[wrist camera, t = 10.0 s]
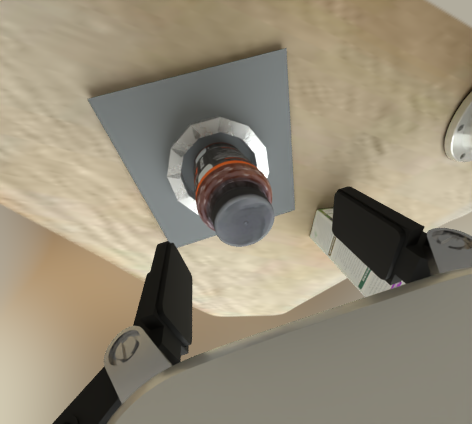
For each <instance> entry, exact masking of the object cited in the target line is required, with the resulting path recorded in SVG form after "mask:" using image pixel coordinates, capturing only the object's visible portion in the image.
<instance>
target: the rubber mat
mask: <svg viewBox="0 0 472 424" xmlns="http://www.w3.org/2000/svg"><path fill="white" fill-rule="evenodd" d="M88 101H89V103H90V105H91V106H92V108H93V110H94V112H95V113H96V115H97V117H98V119H99V120H100V122H101V124H102V126H103V127H104V129H105V131H106V133H107V134H108V136H109V138H110V140H111V141H112V143H113V145H114V147H115V148H116V150H117V152H118V154H119V155H120V157H121V159H122V161H123V162H124V164H125V166H126V168H127V169H128V171H129V173H130V175H131V176H132V178H133V180H134V182H135V183H136V185H137V187H138V189H139V190H140V192H141V194H142V196H143V197H144V199H145V201H146V203H147V204H148V206H149V208H150V210H151V211H152V213H153V215H154V217H155V218H156V220H157V222H158V224H159V225H160V227H161V229H162V231H163V232H164V234H165V236H166V238H167V239H168V241H169V242H170V243H174V244H175V246H176V248H178V247H181V246H184V245H188V244H191V243H194V242H197V241H200V240H203V239H206V238H209V237H212V236H215V235H217V234H216V232H215V231H213V230H211V229H210V228H209V227H207V225H205V223H204V222H203V221H202V219H201V218H200V216H199V215H198V214H196V213H195V212H193V211H192V210H190V209H189V208H188V207H186V206H185V205H183V204H182V203H181V202H179V201H178V200H177V197H176V195H175V193H174V191H173V189H172V187H171V184H170V182H169V180H168V178H167V173H168V166H169V158H170V151H171V146H172V144H173V143H174V142H175V141H176V139H177V138H178V137H179V136H180V135H181V134H182V133H183V131H184V130H185V129H186V128H187V127H188V126H189V124H190V123H193V122H197V121H201V120H204V119H208V118H211V117H215V116H220V117H223V118H226V119H229V120H232V121H235V122H238V123H241V124H244V125H247V126H249V127H250V129H251V130H252V131H253V132H254V134H255V135H256V136H257V137H258V139H259V140H260V141H261V142H262V144H263V145H264V146H265V147H266V153H267V161H268V169H269V174H268V177H267V179H268V181H269V183H270V186H271V189H272V204H271V205H272V207H273V210H274V216H277V215H280V214H284V213H287V212H290V211H293V210H295V201H294V182H293V163H292V145H291V126H290V107H289V88H288V69H287V51H286V48H285V49H281V50H277V51H273V52H269V53H265V54H261V55H257V56H253V57H250V58H246V59H242V60H238V61H234V62H230V63H226V64H222V65H218V66H214V67H210V68H207V69H203V70H199V71H195V72H191V73H187V74H183V75H179V76H175V77H171V78H167V79H163V80H160V81H156V82H152V83H148V84H144V85H140V86H136V87H132V88H128V89H124V90H120V91H117V92H113V93H109V94H105V95H101V96H97V97H93V98H89V99H88ZM218 142H223V143H228V144H231V145H233V146H234V147H236V148H237V149H238V150H239V151H240V152H241V153H242V154H243V155H244V156H245V157H246V158H247V159H248V160H249V161H250V162H252V159H251V154H250V149H249V148H248V147H247V146H246V145H245V144H244V143H243V141H242V140H241V139H240V138H239V137H236V136H232V135H229V134H226V133H222V132H219V133H216V134H212V135H209V136H205V137H201V138H198V140H197V141H196V142H195V143H194V144H193V145H192V146H191V147H190V149H189V150H188V151H187V152H186V153H185V154H184V155H183V161H182V168H181V172H182V175H183V177H184V180H185V182H186V184H187V187H188V188H189V189H190V190H192V191H193V192H194V193H195V187H194V175H193V167H194V162H195V159H196V157H197V155H198V153H199V152H200V151H201V150H202V149H203V148H205V147H206V146H208V145H210V144H212V143H218Z"/></svg>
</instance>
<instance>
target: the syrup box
mask: <svg viewBox="0 0 472 424" xmlns="http://www.w3.org/2000/svg"><path fill="white" fill-rule="evenodd" d="M332 220H333V208H326V209H318V210H317V211H316V215H315V218H314V222H313V226H312V230H311V234H310V238H311V239H312V240H313V241H314V242H315V243H316V244H317V245H318V246H319V247H320V249H321V250H322V251H323V252H324V253H325V254H326V255H327V256H328V257H329V258H330V259H331V260H332V261H333V263H334V264H335V265H336V266H337V267H338V268H339V269H340V270H341V271H342V272H343V273H344V274H345V276H346V277H347V278H348V279H349V280H350V281H351V282H352V283H353V284H354V285H355V286H356V288H357V289H358V290H359V291H360V292H361V293H362V294H363V295H364V296H365V297H368V296H371V295H374V294H377V293H380V292H383V291H386V290H389V289H392V288H395V287H398V286H401V285H404V284H406V283H404V282H403V281H402V280H401V282H399V283H396V284H393V285H389V284H388V283H387V282H386V281H385V280H382V279H380V278H379V277H378V276H377V275H376V274H375V273H373V272H372V271H371V270H370V269H369V268H368V267H367V266H366V265H365V264H364V263H363V262H362V261H361V260H360V259H359V258H358V257H357V256H356V255H355V254H353V253H352V252H351V251H350V250H349V249H348V248H347V247H346V246H345V245H344V244H343V243H342V242H341V241H340V240H339V239H338V238H337V237H336V236H335V235H334V234H333V232H332Z"/></svg>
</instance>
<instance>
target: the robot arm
mask: <svg viewBox="0 0 472 424" xmlns="http://www.w3.org/2000/svg"><path fill="white" fill-rule="evenodd" d="M444 148H445V153H446V155H447V156H448V157H449V158H450V159H452V160H455V161H460V162H469V161H472V91H471V92H470V94H469V95H468V96H467V97H466V98H465V100H464V101H463V102H462V104H461V105H460V107H459V108H458V110H457V111H456V113H455V115H454V117H453V118H452V120H451V122H450V125H449V127H448V130H447V133H446V136H445V143H444ZM423 229H424V226H422V225H420V224H418V223H416V222H414V221H413V220H411V219H409V218H407V217H405V216H403V215H402V214H400V213H398V212H396V211H394V210H392V209H391V208H389V207H387V206H385V205H383V204H381V203H380V202H378V201H376V200H374V199H372V198H370V197H368V196H367V195H365V194H363V193H361V192H359V191H357V190H356V189H354V188H352V187H345V188H342V189H339V190H337V193H335V196H334V208H333V220H332V232H333V234H334V235H335V236H336V237H337V238H338V239H339V240H340V241H341V242H342V243H343V244H344V245H345V246H346V247H347V248H348V249H349V250H350V251H351V252H352V253H353V254H355V255H356V256H357V257H358V258H359V259H360V260H361V261H362V262H363V263H364V264H365V265H366V266H367V267H368V268H369V269H370V270H371V271H372V272H373V273H375V274H376V275H377V276H378V277H379V278H380V279H382V280H385V281H386V282H387V283H388V284H389V285H393V284H396V283H399V282H401V280H402V281H403V282H404V283H406V284H404V285H401V286H398V287H395V288H392V289H389V290H386V291H383V292H380V293H377V294H374V295H371V296H368V297H365V298H362V299H359V300H356V301H353V302H350V303H347V304H344V305H341V306H338V307H335V308H332V309H329V310H326V311H323V312H320V313H317V314H314V315H311V316H308V317H305V318H302V319H299V320H296V321H293V322H290V323H287V324H285V325H282V326H279V327H276V328H273V329H270V330H267V331H264V332H261V333H258V334H255V335H252V336H250V337H246V338H244V339H241V340H238V341H235V342H232V343H229V344H227V345H224V346H221V347H218V348H215V349H213V350H210V351H207V352H204V353H202V354H199V355H196V356H194V357H191V358H189V359H187V360H184V361H182V362H180V357H181V355H184V354H187V353H188V345H190V344H191V342H192V276H191V273H190V271H189V270H188V268H187V266H186V264H185V262H184V260H183V259H182V257H181V255H180V253H179V251H178V250H177V248H176V246H175V244H174V243H170V242H169V241H167V242H163V243H160V244H158V245H157V247H156V251H155V255H154V259H153V263H152V267H151V271H150V272H149V273H148V274H147V276H146V280H145V284H144V287H143V291H142V295H141V299H140V302H139V306H138V310H137V314H136V317H135V321H134V325H133V326H131V327H128V328H126V329H125V330H123V331H122V332H121V333H119V334H118V335H117V336H116V337H115V338H114V339H113V340H112V342H111V344H110V345H109V346H108V348H107V351H106V353H105V357H104V367H103V369H102V370H101V371H100V372H99V373H98V374H97V375H96V376H95V377H94V378H93V380H92V381H91V382H90V383H89V384H88V385H87V386H86V387H85V388H84V389H83V391H82V392H81V393H80V394H79V395H78V396H77V397H76V398H75V399H74V401H73V402H72V403H71V404H70V405H69V406H68V407H67V408H66V409H65V410H64V411H63V413H62V414H61V415H60V416H59V417H58V418H57V419H56V420H55V421H54V423H53V424H472V236H470V235H468V234H466V233H464V232H461V231H457V230H454V229H448V228H435V229H431V230H429V231H428V232H427V233H425V232H423Z"/></svg>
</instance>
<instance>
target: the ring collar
mask: <svg viewBox="0 0 472 424" xmlns="http://www.w3.org/2000/svg"><path fill="white" fill-rule="evenodd" d="M219 132H222V133H226V134H229V135H232V136H236V137H239V138H240V139H241V140H242V141H243V143H244V144H245V145H246V146H247V147H248V148H249V149H250V154H251V159H252V163H253V164H254V165H255V166H256V167H257V168H258V169H259V170H260V171H261V172H262V173H263V174H264V175H265V177H266V178H267V177H268V174H269V169H268V161H267V153H266V147H265V146H264V145H263V144H262V142H261V141H260V140H259V139H258V137H257V136H256V135H255V134H254V132H253V131H252V130H251V129H250V127H249V126H247V125H244V124H241V123H238V122H235V121H232V120H229V119H226V118H223V117H220V116H215V117H211V118H208V119H204V120H201V121H197V122H193V123H190V124H189V126H188V127H187V128H186V129H185V130H184V131H183V133H182V134H181V135H180V136H179V137H178V138H177V139H176V141H175V142H174V143H173V144H172V146H171V151H170V158H169V166H168V173H167V178H168V180H169V182H170V184H171V187H172V189H173V191H174V193H175V195H176V197H177V200H178V201H179V202H181V203H182V204H183V205H185V206H186V207H188V208H189V209H190V210H192V211H193V212H195V213H196V214H198V211H197V206H196V199H195V193H194V192H193V191H192V190H190V189H189V188H188V187H187V184H186V182H185V180H184V177H183V175H182V172H181V168H182V161H183V155H184V154H185V153H186V152H187V151H188V150H189V149H190V147H191V146H192V145H193V144H194V143H195V142H196V141H197V140H198V138H201V137H205V136H209V135H212V134H216V133H219ZM198 215H199V214H198Z"/></svg>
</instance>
